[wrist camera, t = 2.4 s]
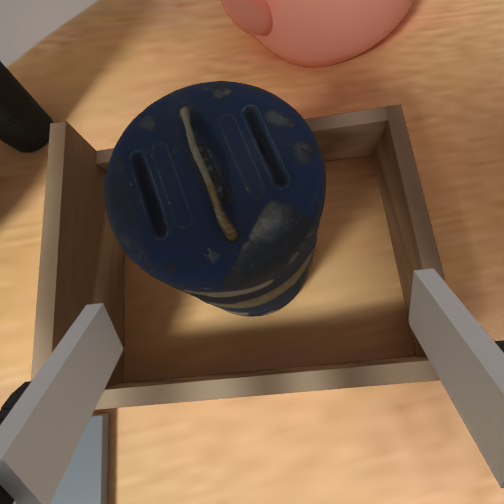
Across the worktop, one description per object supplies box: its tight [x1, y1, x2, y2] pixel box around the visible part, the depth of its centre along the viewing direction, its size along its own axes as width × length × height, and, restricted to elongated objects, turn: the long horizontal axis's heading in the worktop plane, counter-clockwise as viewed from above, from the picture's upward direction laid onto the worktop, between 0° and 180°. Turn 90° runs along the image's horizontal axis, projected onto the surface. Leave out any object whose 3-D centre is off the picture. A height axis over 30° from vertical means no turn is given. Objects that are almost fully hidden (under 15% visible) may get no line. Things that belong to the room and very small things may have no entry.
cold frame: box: [31, 105, 446, 410], centre depth 25 cm, size 26×20×9 cm
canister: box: [104, 81, 326, 317], centre depth 21 cm, size 10×10×18 cm
